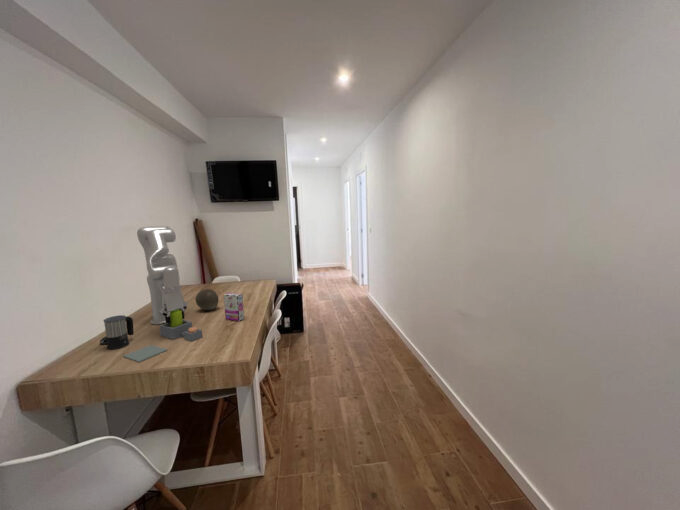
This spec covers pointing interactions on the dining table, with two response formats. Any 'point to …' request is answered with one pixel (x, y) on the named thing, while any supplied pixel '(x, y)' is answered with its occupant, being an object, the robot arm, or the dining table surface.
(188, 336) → the holder
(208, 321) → the dining table surface
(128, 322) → the milk frother
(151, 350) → the mat
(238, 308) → the candy bar box
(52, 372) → the dining table surface
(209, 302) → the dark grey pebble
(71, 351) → the dining table surface
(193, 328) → the tan ball
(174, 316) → the soap dispenser
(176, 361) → the dining table surface
